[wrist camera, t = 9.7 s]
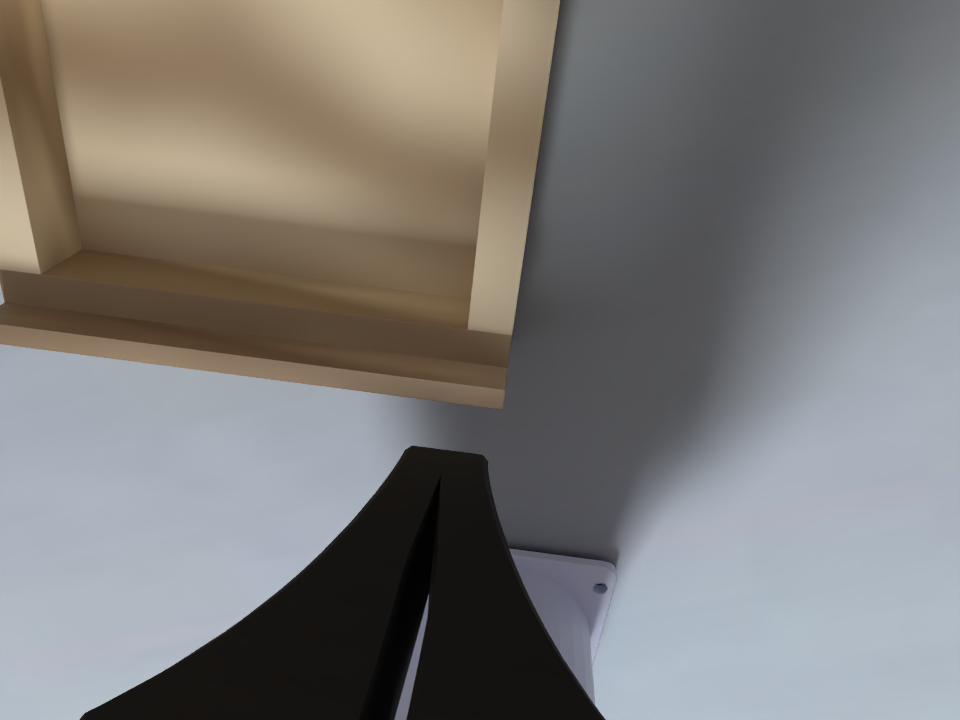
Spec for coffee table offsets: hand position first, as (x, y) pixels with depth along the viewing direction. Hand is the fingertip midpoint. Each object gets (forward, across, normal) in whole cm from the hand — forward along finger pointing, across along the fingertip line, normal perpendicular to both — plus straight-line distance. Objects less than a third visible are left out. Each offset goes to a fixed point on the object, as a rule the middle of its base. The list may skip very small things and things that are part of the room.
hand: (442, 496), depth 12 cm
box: (+10, +6, -4) cm, 12 cm away
